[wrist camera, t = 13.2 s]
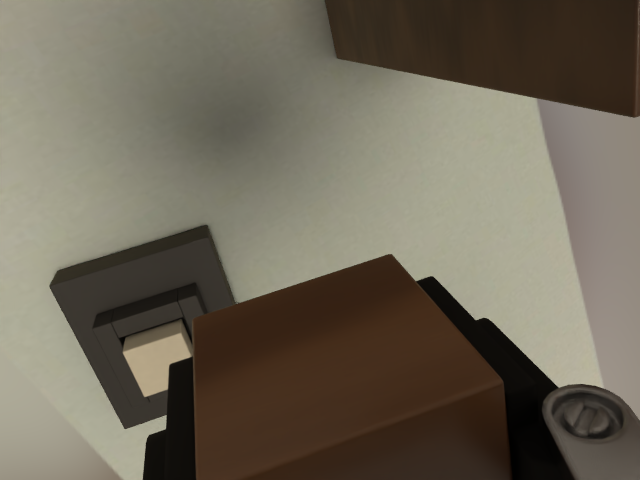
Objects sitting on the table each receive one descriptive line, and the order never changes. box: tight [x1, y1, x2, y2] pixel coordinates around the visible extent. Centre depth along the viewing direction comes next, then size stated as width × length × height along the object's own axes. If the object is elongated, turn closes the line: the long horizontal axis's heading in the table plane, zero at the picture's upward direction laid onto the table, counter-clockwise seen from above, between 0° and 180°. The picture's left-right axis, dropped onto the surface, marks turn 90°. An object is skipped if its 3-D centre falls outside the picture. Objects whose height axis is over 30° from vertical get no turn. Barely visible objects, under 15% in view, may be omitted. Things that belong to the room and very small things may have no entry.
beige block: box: [123, 319, 193, 397], centre depth 33 cm, size 4×4×2 cm
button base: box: [49, 225, 235, 429], centre depth 35 cm, size 12×10×4 cm
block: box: [192, 254, 513, 480], centre depth 10 cm, size 4×4×4 cm
